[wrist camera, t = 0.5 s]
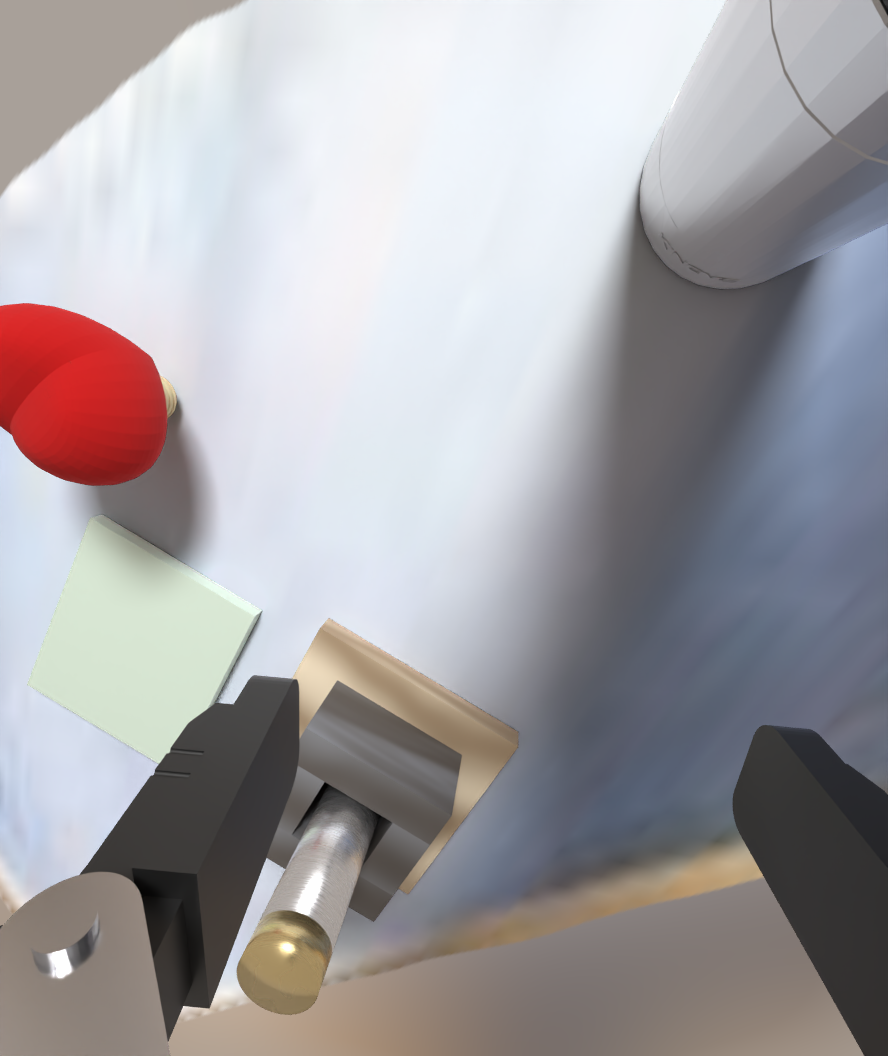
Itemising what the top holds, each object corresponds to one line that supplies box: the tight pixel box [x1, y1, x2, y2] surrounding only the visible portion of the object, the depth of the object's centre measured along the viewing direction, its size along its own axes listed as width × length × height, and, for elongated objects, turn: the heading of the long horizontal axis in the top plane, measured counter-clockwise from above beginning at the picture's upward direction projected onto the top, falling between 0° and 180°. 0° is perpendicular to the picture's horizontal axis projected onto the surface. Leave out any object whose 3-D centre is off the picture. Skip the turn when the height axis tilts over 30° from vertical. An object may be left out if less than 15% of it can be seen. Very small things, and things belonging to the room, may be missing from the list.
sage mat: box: [27, 515, 262, 764], centre depth 36 cm, size 14×12×1 cm
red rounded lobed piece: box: [0, 303, 177, 486], centre depth 27 cm, size 9×7×10 cm
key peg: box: [237, 784, 379, 1015], centre depth 28 cm, size 4×4×13 cm
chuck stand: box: [266, 619, 518, 922], centre depth 33 cm, size 14×14×6 cm
